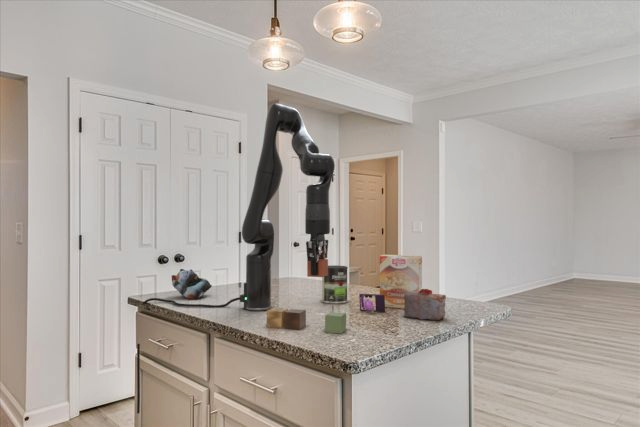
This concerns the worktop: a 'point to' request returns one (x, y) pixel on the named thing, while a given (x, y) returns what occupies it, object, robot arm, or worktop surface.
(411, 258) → the coffeecake box
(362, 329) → the worktop surface
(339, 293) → the coffee can
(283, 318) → the maple block
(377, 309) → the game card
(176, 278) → the blue-grey lumpy piece
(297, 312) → the walnut block
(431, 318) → the food item
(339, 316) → the sage block
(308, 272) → the terracotta red block
